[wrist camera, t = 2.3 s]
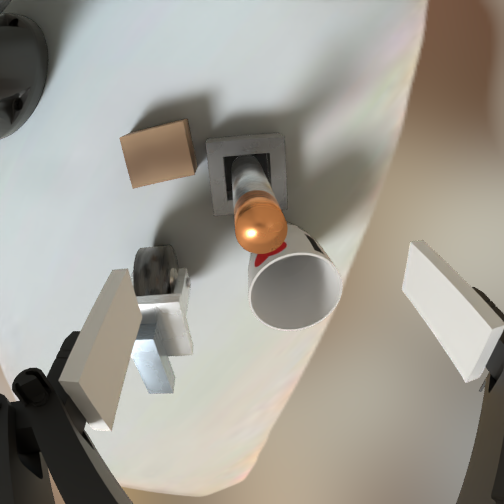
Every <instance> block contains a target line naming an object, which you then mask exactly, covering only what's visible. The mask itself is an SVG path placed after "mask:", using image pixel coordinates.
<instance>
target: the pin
mask: <svg viewBox="0 0 504 504" xmlns="http://www.w3.org/2000/svg"><path fill="white" fill-rule="evenodd" d="M231 176H232V191H233V206H234V220H235V234H236V238H237V240H238V242H239V244H240V245H241V246H242V247H243V248H244V249H245V250H247V251H249V252H251V253H255V254H265V253H269V252H272V251H274V250H276V249H277V248H278V247H280V246H281V245H282V243H283V242H284V240H285V238H286V236H287V230H288V227H287V222H286V220H285V217H284V215H283V213H282V211H281V208H280V206H279V204H278V202H277V199H276V197H275V195H274V193H273V191H272V188H271V186H270V184H269V182H268V180H267V177H266V175H265V173H264V171H263V169H262V167H261V164H260V162H259V161H258V160H257V159H256V158H255V157H253V156H251V155H242V156H239V157H238V158H236V159H235V160H234V162H233V163H232V166H231Z"/></svg>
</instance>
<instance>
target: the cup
mask: <svg viewBox="0 0 504 504" xmlns="http://www.w3.org/2000/svg"><path fill="white" fill-rule="evenodd" d="M287 227H288V230H287V236H286V238H285V240H284V242H283V243H282V245H281V246H280V247H278V248H277V249H276V250H274V251H272V252H269V253H265V254H255V253H251V256H250V261H249V266H248V300H249V305H250V308H251V311H252V313H253V314H254V316H255V317H256V318H257V319H258V320H259V321H260V322H261V323H263V324H264V325H266V326H268V327H270V328H273V329H277V330H282V331H296V330H302V329H305V328H308V327H311V326H313V325H315V324H317V323H319V322H321V321H322V320H324V319H325V318H326V317H327V316H328V315H329V314H330V313H331V312H332V311H333V310H334V309H335V307H336V306H337V304H338V302H339V300H340V297H341V294H342V279H341V275H340V273H339V271H338V269H337V268H336V267H335V265H334V264H333V262H332V261H331V259H330V258H329V257H328V255H327V254H326V252H325V251H324V250H323V248H322V247H321V246H320V244H319V243H318V242H317V241H315V240H314V239H313V238H312V237H311V236H310V235H309V234H308V233H307V232H306V231H305V230H303V229H302V228H300V227H298V226H296V225H294V224H291V223H289V222H287Z"/></svg>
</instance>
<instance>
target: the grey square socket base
mask: <svg viewBox="0 0 504 504" xmlns="http://www.w3.org/2000/svg"><path fill="white" fill-rule="evenodd" d="M206 151H207V160H208V169H209V178H210V187H211V195H212V203H213V212H214V216H219V215H230V214H234V206H233V191H227V185H226V175H225V164H224V157H226V156H237V155H248V154H261V153H266V156H267V173H268V182H269V184H270V186H271V188H272V191H273V193H274V195H275V197H276V199H277V202H278V204H279V206H280V208H281V210H285V209H287V183H286V158H285V137H284V136H283V135H282V134H280V133H267V134H252V135H240V136H229V137H219V138H210V139H207V141H206Z"/></svg>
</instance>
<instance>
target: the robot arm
mask: <svg viewBox="0 0 504 504" xmlns="http://www.w3.org/2000/svg"><path fill="white" fill-rule="evenodd" d="M10 1H11V0H0V139H2V138H5V137H7V136H9V135H11V134H13V133H14V132H15V131H17V130H18V129H19V128H20V127H21V126H22V125H23V124H24V123H25V122H26V121H27V119H28V118H29V117H30V115H31V114H32V112H33V111H34V109H35V107H36V105H37V103H38V101H39V99H40V96H41V94H42V91H43V88H44V84H45V80H46V75H47V68H48V52H47V45H46V41H45V38H44V35H43V33H42V31H41V29H40V28H39V27H38V25H37V24H36V23H35V22H34V21H32V20H31V19H29V18H27V17H24V16H20V15H16V14H9V13H6V14H1V13H2V11H3V10H4V9H5V7H6V6H7V5H8V4H9V2H10ZM402 291H403V292H404V293H405V295H406V296H407V297H408V299H409V300H410V301H411V303H412V304H413V305H414V307H415V308H416V309H417V311H418V312H419V314H420V315H421V317H422V318H423V319H424V321H425V322H426V324H427V325H428V326H429V328H430V329H431V330H432V332H433V334H434V335H435V336H436V338H437V339H438V341H439V342H440V344H441V345H442V347H443V348H444V350H445V351H446V353H447V354H448V355H449V357H450V359H451V360H452V361H453V363H454V365H455V366H456V368H457V370H458V371H459V373H460V374H461V376H462V377H463V379H464V381H465V382H466V383H467V382H469V381H472V380H474V379H477V378H479V377H480V376H481V374H482V372H483V370H484V369H485V367H486V368H487V369H488V371H489V374H488V376H487V377H486V379H485V381H484V383H483V384H482V386H481V387H480V390H479V391H480V392H481V391H482V389H483V388H484V387H485V391H484V397H483V403H482V410H481V415H480V420H479V425H478V429H477V434H476V438H475V443H474V447H473V451H472V455H471V458H470V462H469V466H468V469H467V472H466V476H465V479H464V482H463V485H462V488H461V491H460V494H459V497H458V500H457V503H456V504H504V314H503V313H502V312H501V311H500V310H499V309H498V308H497V307H496V306H495V304H494V303H493V302H492V301H490V299H489V298H488V297H487V296H486V295H485V294H484V293H483V292H482V291H480V290H478V289H477V288H475V287H471V286H470V285H469V284H468V283H467V282H466V281H465V280H464V279H463V278H462V277H461V276H460V275H459V274H458V273H457V272H456V271H455V270H454V269H453V268H452V267H451V266H450V265H449V264H448V263H447V262H446V261H445V260H444V259H443V258H442V257H441V256H440V255H438V254H437V253H436V252H435V251H434V250H433V249H432V248H431V247H430V246H429V245H428V244H427V243H426V242H424V241H423V240H421V241H411V242H410V247H409V253H408V259H407V265H406V270H405V275H404V281H403V285H402ZM141 320H142V314H141V311H140V308H139V305H138V302H137V298H136V295H135V292H134V288H133V285H132V282H131V278H130V275H129V271H128V269H117V270H112V272H111V274H110V275H109V277H108V279H107V281H106V283H105V285H104V287H103V288H102V290H101V292H100V294H99V296H98V298H97V300H96V302H95V304H94V306H93V308H92V310H91V312H90V314H89V316H88V318H87V320H86V322H85V324H84V326H83V328H82V330H81V331H73V332H72V333H71V334H70V335H69V336H68V337H67V338H66V339H65V340H64V342H63V344H62V346H61V348H60V351H59V352H58V354H57V356H56V359H55V361H54V363H53V365H52V367H51V369H50V371H49V373H48V375H47V378H46V376H45V375H44V373H43V372H42V370H40V369H38V368H29V369H26V370H24V371H22V372H21V373H19V374H18V375H17V377H16V378H15V379H14V382H13V384H12V391H13V392H14V393H15V395H16V396H17V397H18V398H19V400H20V401H16V402H9V401H8V399H7V398H6V397H5V396H4V395H2V394H0V504H55V501H54V497H53V493H52V488H51V483H50V478H49V473H48V469H49V471H50V473H51V475H52V477H53V480H54V482H55V484H56V486H57V488H58V490H59V492H60V494H61V496H62V498H63V500H64V502H65V504H133V503H132V501H131V500H130V499H129V497H128V496H127V495H126V493H125V492H124V491H123V489H122V488H121V486H120V485H119V483H118V482H117V480H116V479H115V478H114V476H113V475H112V473H111V472H110V470H109V468H108V467H107V465H106V464H105V462H104V461H103V459H102V458H101V456H100V454H99V453H98V451H97V449H96V448H95V446H94V444H93V443H92V441H91V439H90V438H89V436H88V434H87V433H86V431H85V430H84V428H85V424H86V421H87V422H88V424H89V425H90V426H91V428H92V429H93V430H101V431H112V427H113V423H114V419H115V415H116V410H117V406H118V402H119V398H120V394H121V390H122V387H123V383H124V379H125V375H126V372H127V368H128V364H129V361H130V357H131V354H132V350H133V347H134V343H135V340H136V336H137V333H138V330H139V327H140V323H141Z"/></svg>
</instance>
